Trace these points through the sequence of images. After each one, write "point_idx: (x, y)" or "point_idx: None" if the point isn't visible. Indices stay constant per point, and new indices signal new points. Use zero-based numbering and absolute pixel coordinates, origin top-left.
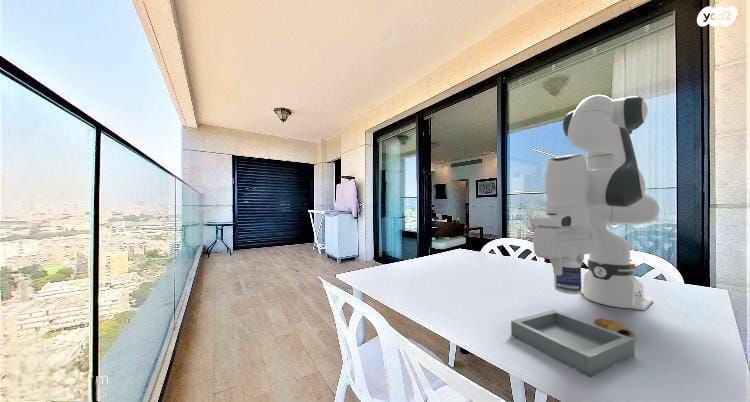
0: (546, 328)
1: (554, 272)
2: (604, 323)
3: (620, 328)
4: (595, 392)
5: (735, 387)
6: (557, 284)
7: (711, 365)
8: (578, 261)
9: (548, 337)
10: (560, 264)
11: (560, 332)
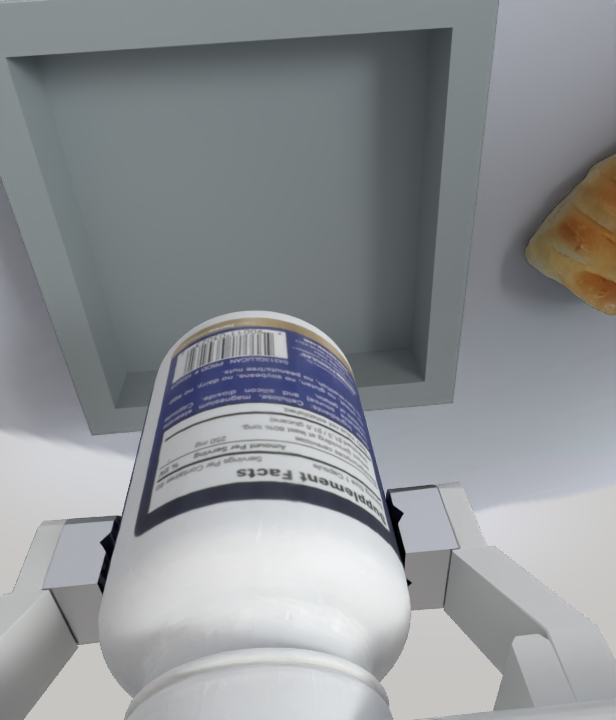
0: (280, 62)
1: (42, 538)
2: (602, 222)
3: (580, 297)
4: (53, 431)
5: (481, 507)
6: (146, 413)
7: (588, 451)
8: (488, 635)
9: (46, 280)
10: (9, 712)
11: (314, 137)
